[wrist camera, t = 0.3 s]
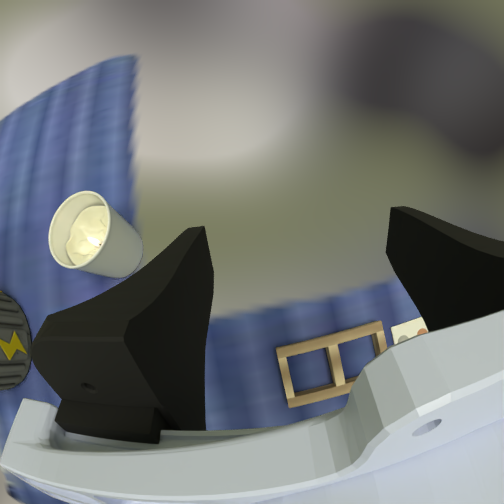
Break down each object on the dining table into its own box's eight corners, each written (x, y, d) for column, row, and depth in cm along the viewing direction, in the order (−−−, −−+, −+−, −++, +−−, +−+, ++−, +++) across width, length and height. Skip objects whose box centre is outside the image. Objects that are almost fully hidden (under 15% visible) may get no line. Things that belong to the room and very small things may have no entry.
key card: (432, 347, 37) (433, 347, 37) (397, 361, 37) (398, 361, 37) (425, 315, 38) (426, 315, 38) (390, 327, 38) (391, 327, 38)
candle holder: (90, 281, 43) (42, 265, 32) (100, 221, 46) (57, 192, 34) (144, 286, 43) (102, 270, 31) (152, 221, 45) (116, 188, 33)
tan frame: (386, 375, 37) (392, 378, 34) (288, 403, 37) (289, 408, 35) (375, 321, 39) (381, 320, 36) (275, 347, 39) (275, 348, 37)
